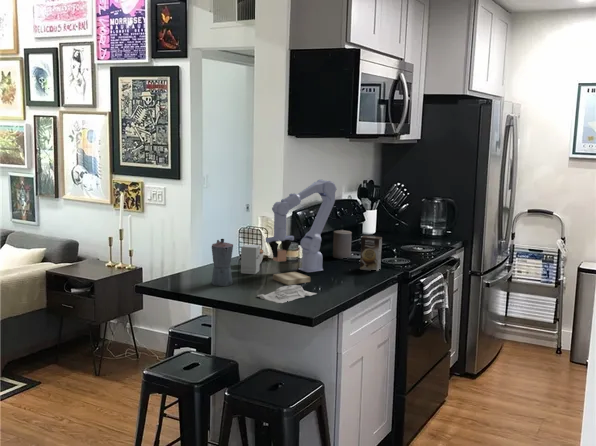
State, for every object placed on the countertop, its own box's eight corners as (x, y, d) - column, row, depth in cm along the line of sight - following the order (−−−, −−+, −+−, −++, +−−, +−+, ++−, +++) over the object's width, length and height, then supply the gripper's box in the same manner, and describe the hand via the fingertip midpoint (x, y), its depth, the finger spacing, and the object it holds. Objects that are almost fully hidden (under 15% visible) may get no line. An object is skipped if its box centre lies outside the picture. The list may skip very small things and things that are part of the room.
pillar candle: (328, 256, 332) (329, 228, 330) (341, 254, 339) (342, 227, 336) (342, 259, 325) (343, 231, 323) (354, 257, 332) (355, 229, 329)
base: (295, 276, 285) (295, 271, 285) (310, 281, 275) (310, 277, 275) (273, 279, 278) (273, 274, 278) (287, 285, 269) (287, 280, 268)
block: (280, 259, 293) (281, 248, 292) (286, 260, 289) (286, 250, 289) (272, 260, 290) (273, 249, 290) (278, 261, 287) (278, 251, 286)
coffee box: (359, 269, 303) (360, 236, 300) (363, 266, 309) (364, 235, 306) (377, 271, 299) (379, 238, 297) (380, 268, 305) (382, 236, 303)
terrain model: (253, 302, 247) (253, 290, 246) (285, 288, 266) (285, 277, 265) (288, 309, 238) (288, 296, 237) (319, 294, 257) (319, 282, 256)
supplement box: (255, 274, 287) (256, 247, 285) (240, 273, 288) (240, 246, 286) (259, 271, 294) (260, 244, 292) (244, 270, 295) (245, 243, 293)
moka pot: (216, 288, 259) (217, 241, 256) (204, 280, 273) (204, 235, 270) (238, 286, 264) (238, 240, 261) (225, 278, 277) (225, 234, 274)
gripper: (288, 225, 295) (287, 253, 297) (262, 227, 287) (261, 256, 289) (296, 227, 289) (296, 256, 291) (270, 229, 281) (269, 259, 283)
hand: (279, 256), depth 290 cm, fingers closed on block, 4 cm apart
